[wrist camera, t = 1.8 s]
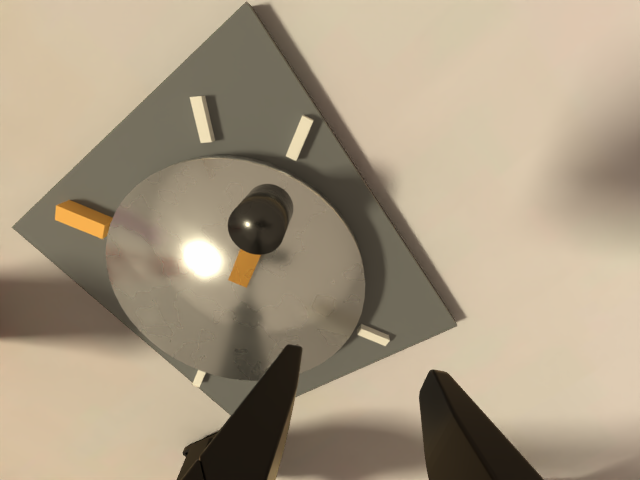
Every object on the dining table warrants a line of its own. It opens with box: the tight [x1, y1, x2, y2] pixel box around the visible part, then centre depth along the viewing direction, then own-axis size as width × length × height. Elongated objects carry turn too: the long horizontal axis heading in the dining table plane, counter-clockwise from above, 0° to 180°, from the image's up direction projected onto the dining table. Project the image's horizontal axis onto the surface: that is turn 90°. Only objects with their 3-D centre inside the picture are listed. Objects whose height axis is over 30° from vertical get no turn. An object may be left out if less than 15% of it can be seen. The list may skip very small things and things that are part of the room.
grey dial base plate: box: [12, 2, 457, 415], centre depth 21 cm, size 22×20×2 cm
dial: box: [106, 155, 365, 381], centre depth 19 cm, size 16×16×4 cm
